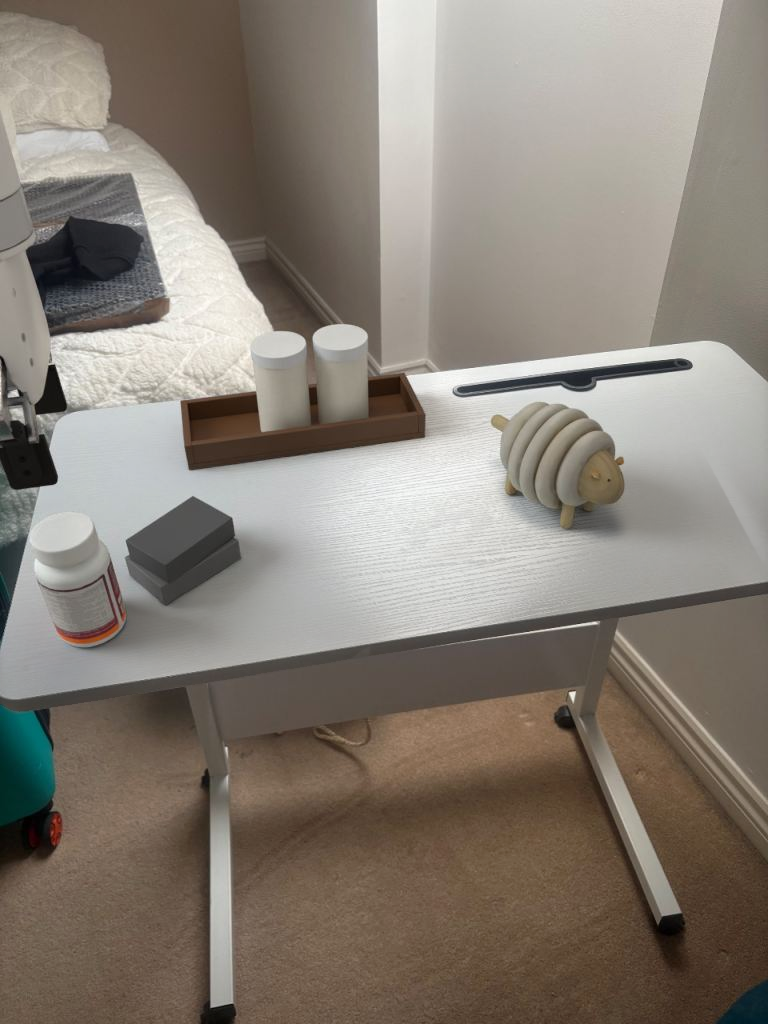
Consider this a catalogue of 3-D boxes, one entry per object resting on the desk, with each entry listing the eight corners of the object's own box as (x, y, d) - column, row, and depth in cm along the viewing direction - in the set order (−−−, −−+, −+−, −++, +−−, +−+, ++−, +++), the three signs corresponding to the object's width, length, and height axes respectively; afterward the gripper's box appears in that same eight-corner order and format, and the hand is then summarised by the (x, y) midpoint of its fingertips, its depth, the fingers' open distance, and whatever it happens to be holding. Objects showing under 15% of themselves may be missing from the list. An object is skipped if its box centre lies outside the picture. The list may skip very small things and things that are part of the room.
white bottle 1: (270, 447, 96) (261, 362, 88) (252, 420, 100) (242, 338, 93) (320, 433, 98) (314, 349, 91) (300, 408, 102) (293, 326, 95)
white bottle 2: (330, 438, 97) (325, 354, 90) (310, 413, 101) (304, 330, 94) (378, 425, 99) (377, 342, 92) (356, 400, 103) (353, 319, 96)
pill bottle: (84, 593, 78) (53, 500, 71) (140, 609, 77) (115, 515, 70) (43, 640, 74) (6, 546, 67) (102, 657, 72) (71, 562, 65)
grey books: (166, 607, 77) (157, 569, 74) (128, 574, 80) (117, 537, 77) (243, 558, 82) (238, 521, 79) (204, 529, 86) (197, 492, 83)
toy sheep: (584, 559, 82) (603, 469, 75) (454, 486, 91) (459, 400, 84) (640, 510, 88) (662, 422, 81) (512, 446, 97) (522, 362, 90)
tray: (188, 470, 93) (184, 446, 91) (184, 423, 101) (180, 400, 99) (424, 437, 98) (425, 413, 96) (404, 395, 106) (404, 372, 104)
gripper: (-71, 182, 58) (3, 393, 69) (-132, 286, 45) (-28, 526, 56) (41, 173, 59) (97, 382, 70) (14, 272, 46) (87, 510, 57)
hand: (41, 446), depth 63 cm, fingers open, 9 cm apart
